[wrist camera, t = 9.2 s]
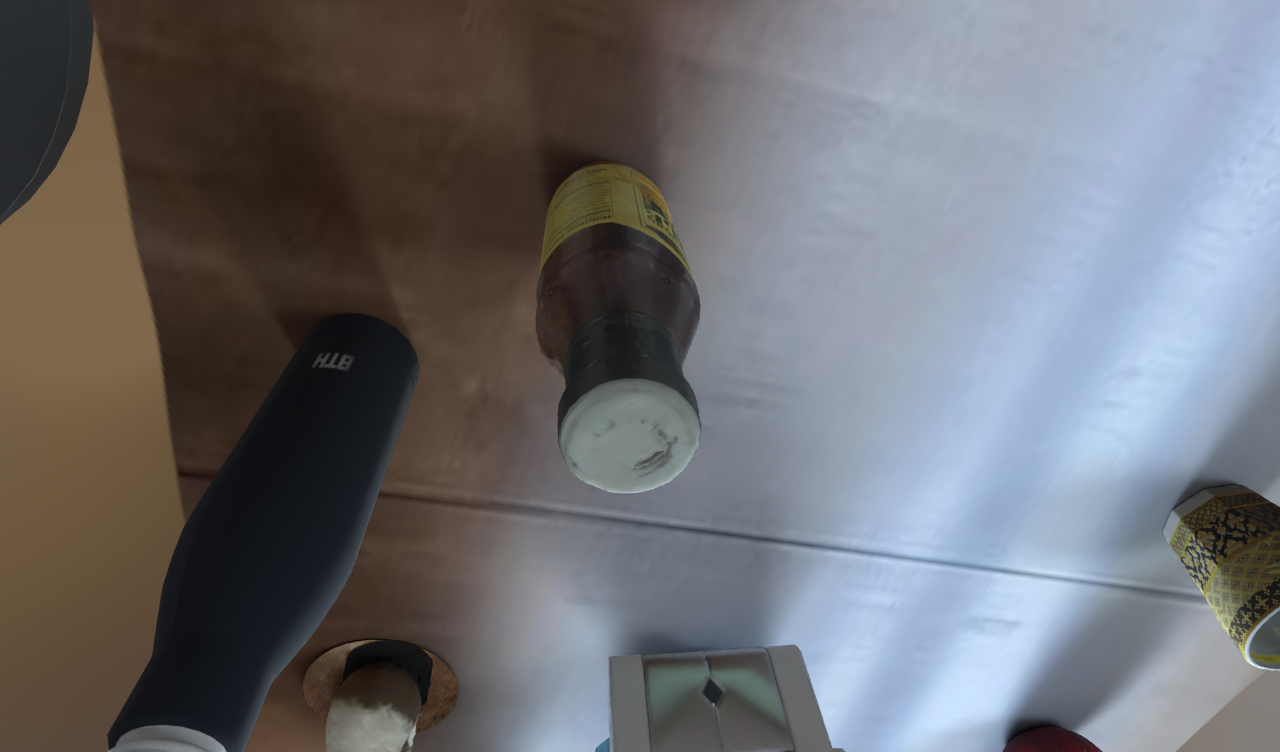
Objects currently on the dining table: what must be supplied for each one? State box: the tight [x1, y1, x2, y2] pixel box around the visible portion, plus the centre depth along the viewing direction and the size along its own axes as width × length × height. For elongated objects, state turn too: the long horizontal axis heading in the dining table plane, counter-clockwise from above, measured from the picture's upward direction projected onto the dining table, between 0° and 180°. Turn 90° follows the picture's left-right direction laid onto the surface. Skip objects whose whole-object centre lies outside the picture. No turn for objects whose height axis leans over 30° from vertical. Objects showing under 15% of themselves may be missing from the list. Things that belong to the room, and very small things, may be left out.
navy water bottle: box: [107, 314, 419, 752], centre depth 27 cm, size 6×6×30 cm
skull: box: [303, 640, 458, 752], centre depth 55 cm, size 12×10×10 cm
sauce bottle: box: [536, 161, 701, 493], centre depth 27 cm, size 7×6×20 cm
